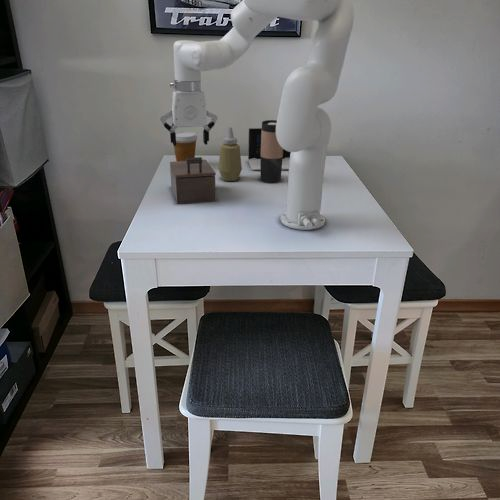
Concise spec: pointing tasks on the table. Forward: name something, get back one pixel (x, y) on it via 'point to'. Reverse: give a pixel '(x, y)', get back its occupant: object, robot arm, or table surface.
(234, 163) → the squeeze bottle
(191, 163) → the lid
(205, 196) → the box
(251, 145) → the laptop
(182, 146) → the disposable coffee cup
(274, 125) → the travel mug
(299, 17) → the robot arm
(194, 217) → the table surface
